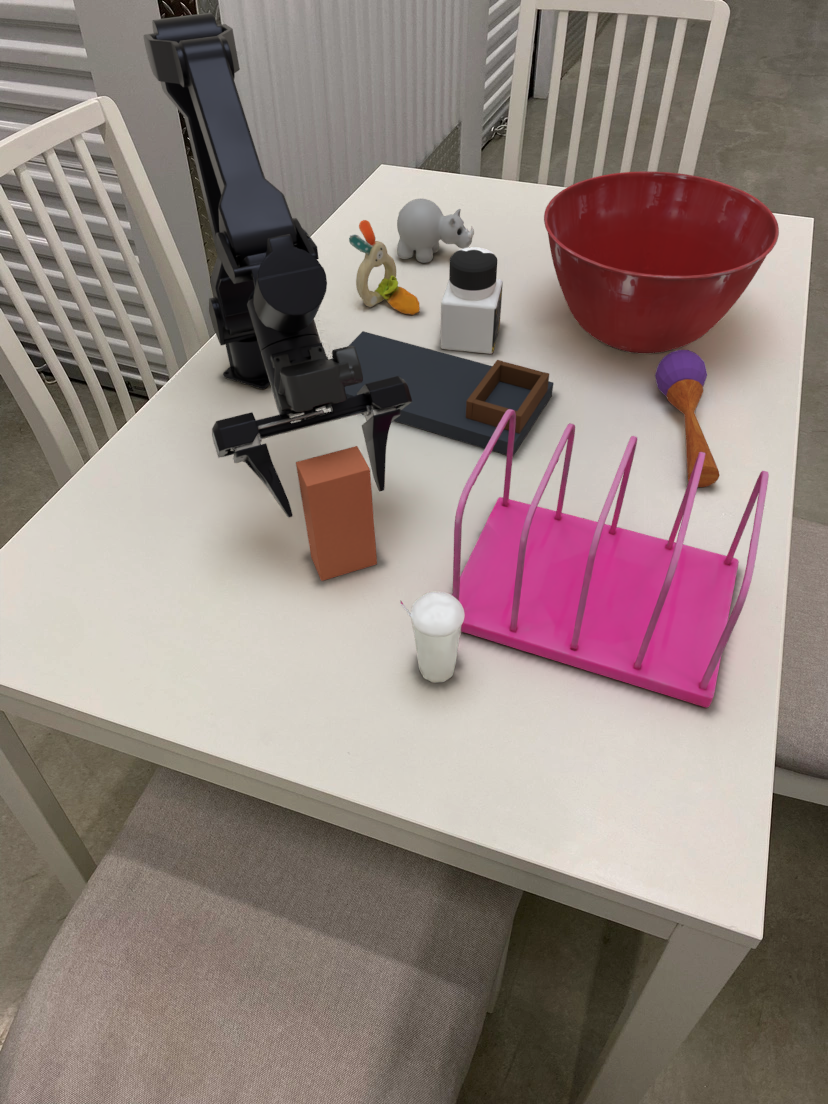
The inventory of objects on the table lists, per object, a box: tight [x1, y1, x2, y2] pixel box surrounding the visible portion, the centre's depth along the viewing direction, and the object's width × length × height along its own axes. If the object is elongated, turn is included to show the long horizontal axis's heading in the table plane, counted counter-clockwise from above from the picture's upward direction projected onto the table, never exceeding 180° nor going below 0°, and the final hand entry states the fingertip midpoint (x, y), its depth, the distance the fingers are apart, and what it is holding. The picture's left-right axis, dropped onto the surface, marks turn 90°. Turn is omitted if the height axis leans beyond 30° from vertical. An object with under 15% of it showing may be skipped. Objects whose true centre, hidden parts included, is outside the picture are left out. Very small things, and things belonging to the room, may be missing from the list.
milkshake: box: [399, 590, 464, 684], centre depth 71 cm, size 4×5×10 cm
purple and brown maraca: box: [654, 349, 720, 488], centre depth 95 cm, size 6×6×20 cm
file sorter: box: [451, 409, 770, 708], centre depth 74 cm, size 17×25×16 cm
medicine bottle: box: [440, 246, 504, 355], centre depth 107 cm, size 7×7×12 cm
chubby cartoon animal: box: [396, 198, 475, 264], centre depth 123 cm, size 7×12×8 cm, turn 70°
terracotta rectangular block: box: [295, 445, 378, 582], centre depth 79 cm, size 4×6×13 cm, turn 112°
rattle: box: [348, 219, 421, 316], centre depth 113 cm, size 8×8×12 cm
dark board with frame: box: [345, 330, 554, 457], centre depth 101 cm, size 27×13×4 cm, turn 63°
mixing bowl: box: [543, 170, 780, 355], centre depth 107 cm, size 28×28×16 cm
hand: (336, 503), depth 78 cm, fingers open, 9 cm apart
